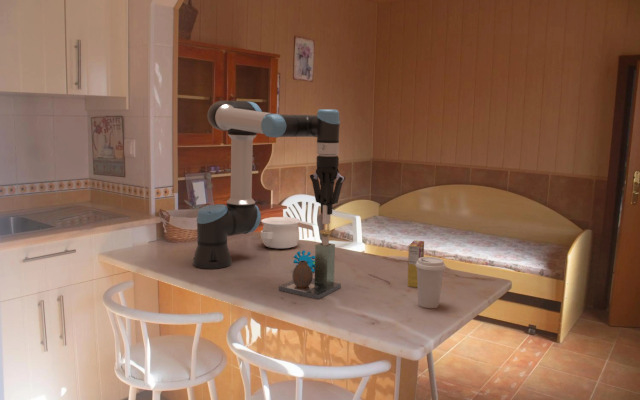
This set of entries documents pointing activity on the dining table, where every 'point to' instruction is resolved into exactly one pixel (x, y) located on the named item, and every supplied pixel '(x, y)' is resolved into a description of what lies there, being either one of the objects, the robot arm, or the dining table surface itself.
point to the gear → (305, 259)
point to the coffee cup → (429, 281)
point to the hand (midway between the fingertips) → (326, 223)
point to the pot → (280, 232)
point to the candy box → (414, 261)
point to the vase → (302, 275)
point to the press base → (318, 275)
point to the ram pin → (325, 237)
